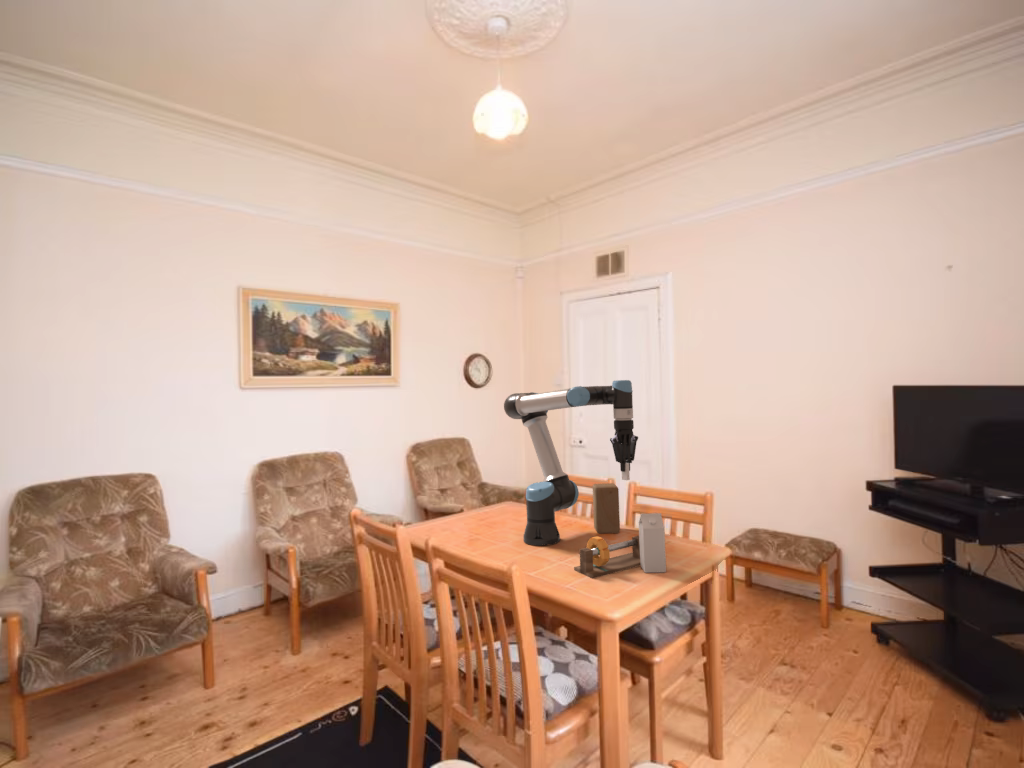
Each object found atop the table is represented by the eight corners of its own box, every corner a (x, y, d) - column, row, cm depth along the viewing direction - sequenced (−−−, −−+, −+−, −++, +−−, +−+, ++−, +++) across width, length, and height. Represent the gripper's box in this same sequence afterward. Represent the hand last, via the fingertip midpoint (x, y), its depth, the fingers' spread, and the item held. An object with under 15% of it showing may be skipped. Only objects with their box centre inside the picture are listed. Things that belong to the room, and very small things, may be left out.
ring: (587, 561, 179) (586, 535, 180) (592, 560, 181) (591, 534, 181) (604, 569, 171) (603, 541, 172) (610, 567, 173) (609, 540, 173)
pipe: (583, 556, 175) (583, 549, 175) (635, 544, 187) (635, 537, 187) (588, 558, 172) (588, 551, 172) (641, 545, 184) (640, 538, 185)
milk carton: (640, 566, 179) (638, 511, 179) (660, 565, 179) (658, 510, 179) (644, 573, 172) (642, 516, 172) (666, 572, 171) (664, 515, 172)
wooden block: (620, 533, 220) (618, 486, 220) (597, 534, 220) (595, 487, 220) (616, 527, 230) (614, 482, 230) (593, 528, 230) (592, 483, 230)
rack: (574, 570, 177) (573, 546, 177) (632, 555, 191) (631, 533, 191) (592, 578, 168) (592, 554, 168) (652, 562, 182) (651, 539, 182)
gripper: (617, 420, 195) (619, 482, 194) (642, 418, 201) (644, 478, 201) (604, 420, 201) (606, 480, 201) (629, 418, 208) (631, 476, 207)
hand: (625, 479), depth 201 cm, fingers closed
